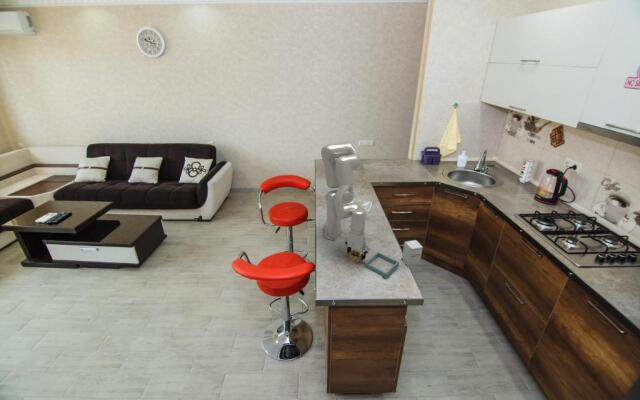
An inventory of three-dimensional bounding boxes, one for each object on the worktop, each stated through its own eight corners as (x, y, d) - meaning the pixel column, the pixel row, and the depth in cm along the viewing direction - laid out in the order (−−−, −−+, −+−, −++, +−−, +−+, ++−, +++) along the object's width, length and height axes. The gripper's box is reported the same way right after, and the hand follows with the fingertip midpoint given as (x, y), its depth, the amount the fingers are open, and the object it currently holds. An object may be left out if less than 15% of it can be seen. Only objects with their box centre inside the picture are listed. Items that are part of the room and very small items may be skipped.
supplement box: (407, 267, 170) (411, 248, 164) (401, 259, 176) (404, 241, 170) (419, 265, 172) (423, 246, 166) (412, 257, 178) (416, 239, 172)
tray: (364, 267, 169) (364, 263, 168) (377, 256, 178) (377, 251, 177) (385, 279, 161) (386, 274, 160) (398, 266, 170) (399, 262, 169)
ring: (346, 258, 175) (347, 253, 174) (353, 252, 180) (354, 248, 178) (356, 263, 171) (357, 259, 169) (363, 257, 176) (364, 253, 174)
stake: (347, 259, 175) (348, 252, 173) (353, 254, 179) (354, 247, 177) (356, 263, 172) (357, 256, 170) (362, 259, 176) (363, 252, 174)
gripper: (341, 227, 169) (340, 252, 176) (367, 238, 159) (365, 265, 166) (349, 222, 174) (347, 247, 182) (375, 233, 164) (372, 258, 171)
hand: (356, 255), depth 174 cm, fingers open, 9 cm apart
